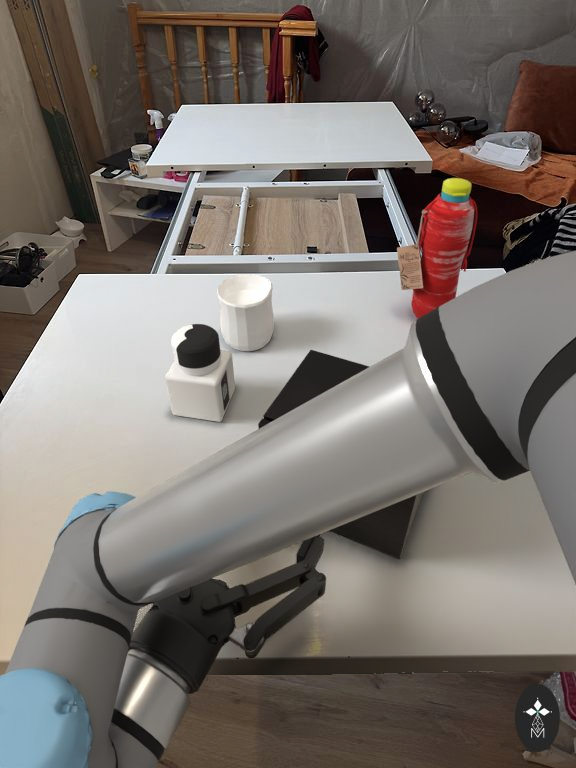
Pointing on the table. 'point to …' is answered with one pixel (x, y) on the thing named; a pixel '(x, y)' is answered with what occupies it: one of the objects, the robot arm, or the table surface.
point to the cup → (246, 311)
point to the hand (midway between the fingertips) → (269, 490)
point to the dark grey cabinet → (317, 388)
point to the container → (199, 374)
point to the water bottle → (439, 248)
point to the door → (379, 525)
